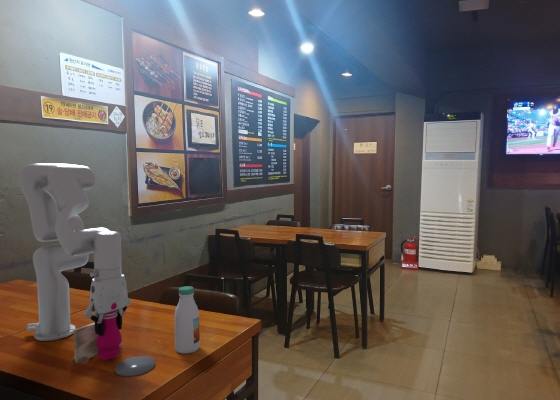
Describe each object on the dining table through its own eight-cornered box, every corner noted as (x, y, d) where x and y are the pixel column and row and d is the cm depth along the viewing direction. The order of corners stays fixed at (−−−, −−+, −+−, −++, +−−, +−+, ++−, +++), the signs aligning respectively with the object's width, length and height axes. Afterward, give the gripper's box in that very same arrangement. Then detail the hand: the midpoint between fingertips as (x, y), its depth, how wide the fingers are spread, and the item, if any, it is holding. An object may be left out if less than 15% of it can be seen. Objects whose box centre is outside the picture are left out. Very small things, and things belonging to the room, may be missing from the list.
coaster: (110, 378, 107) (110, 376, 107) (119, 359, 117) (119, 357, 117) (152, 374, 109) (152, 372, 109) (157, 356, 119) (157, 354, 119)
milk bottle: (187, 356, 119) (186, 292, 118) (169, 350, 123) (168, 289, 122) (204, 347, 126) (203, 286, 124) (187, 341, 130) (186, 283, 128)
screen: (80, 364, 114) (79, 331, 114) (71, 360, 117) (70, 327, 116) (123, 347, 126) (122, 317, 125) (114, 343, 129) (113, 314, 128)
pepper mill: (112, 361, 114) (111, 295, 112) (90, 358, 115) (89, 293, 113) (126, 350, 121) (126, 288, 119) (106, 348, 122) (105, 286, 120)
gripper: (87, 281, 107) (88, 345, 108) (140, 269, 121) (140, 325, 122) (72, 276, 111) (74, 338, 112) (125, 265, 125) (126, 319, 126)
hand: (108, 330), depth 117 cm, fingers closed on pepper mill, 5 cm apart
